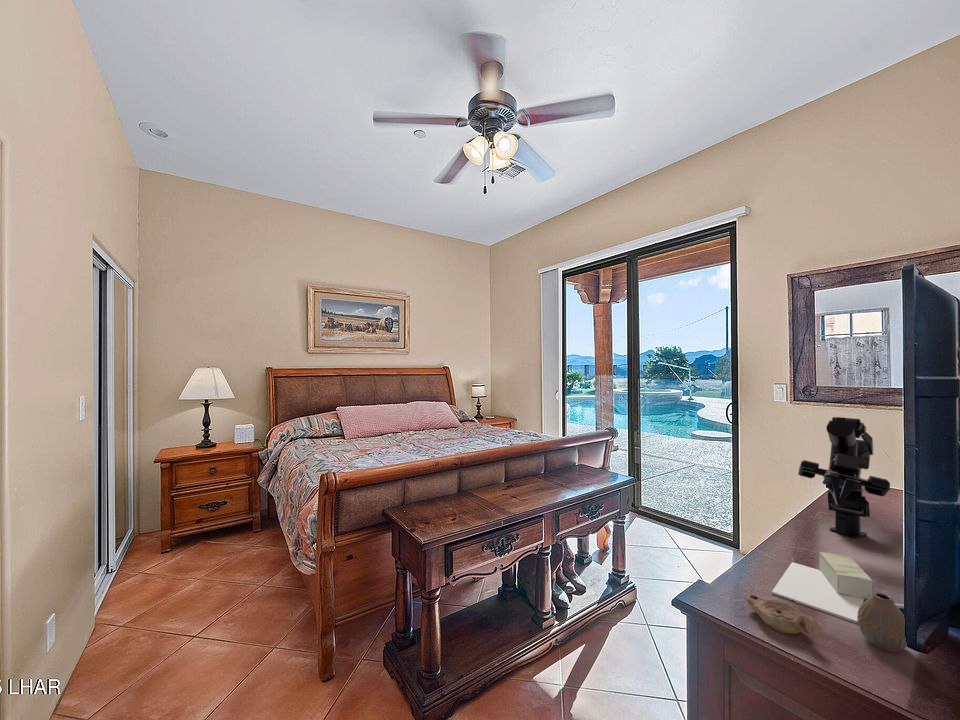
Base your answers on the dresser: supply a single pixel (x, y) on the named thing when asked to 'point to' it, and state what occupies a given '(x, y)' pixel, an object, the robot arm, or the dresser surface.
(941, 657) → the dresser surface
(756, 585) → the dresser surface
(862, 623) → the vase
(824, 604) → the notebook
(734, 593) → the dresser surface
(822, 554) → the skincare box
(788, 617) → the oil lamp
